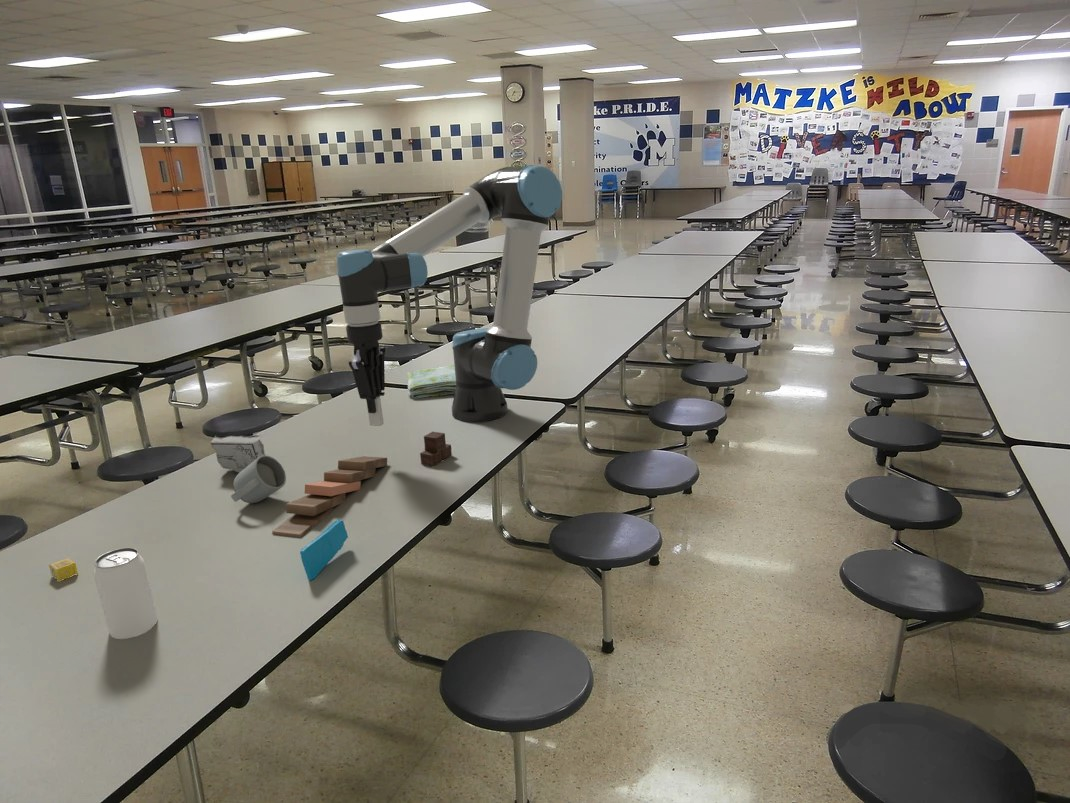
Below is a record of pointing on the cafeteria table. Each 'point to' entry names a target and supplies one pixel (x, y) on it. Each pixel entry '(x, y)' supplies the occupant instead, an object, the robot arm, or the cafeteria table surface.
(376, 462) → the domino
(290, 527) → the domino
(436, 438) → the stack of crates
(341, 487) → the domino
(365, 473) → the domino
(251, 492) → the ceramic mug
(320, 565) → the sponge
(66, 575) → the small yellow block
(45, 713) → the cafeteria table surface
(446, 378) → the towel
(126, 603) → the can
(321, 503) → the domino
